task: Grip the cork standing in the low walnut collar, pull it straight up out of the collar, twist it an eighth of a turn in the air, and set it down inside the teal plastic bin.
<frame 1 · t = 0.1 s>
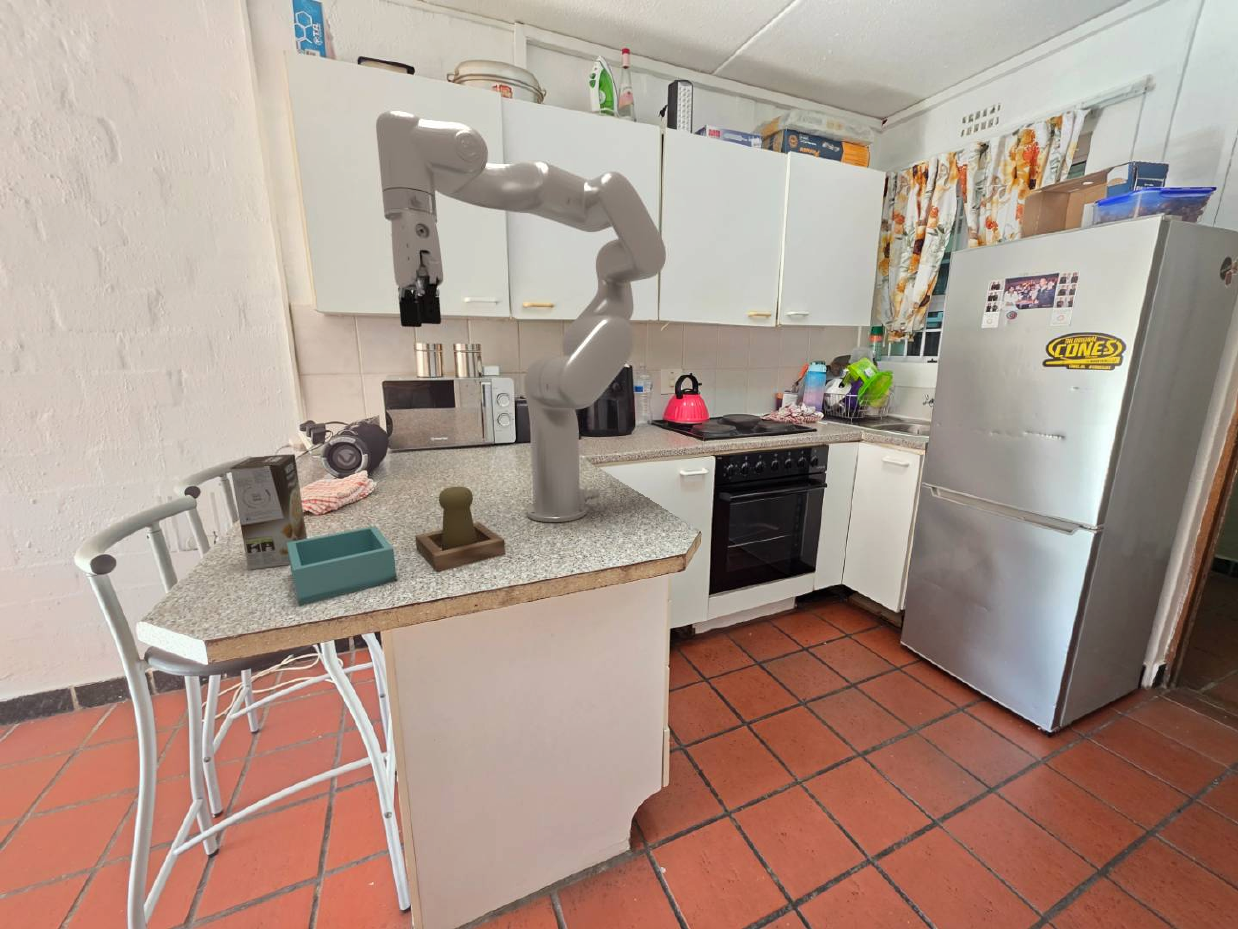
hand: (420, 325, 78), 37 cm above the countertop, tool pointing down, fingers open, 9 cm apart
teal bin: (343, 577, 71), on the countertop
walnut collar: (460, 551, 81), on the countertop
coffee box: (280, 557, 79), on the countertop
cork: (460, 553, 81), resting in walnut collar
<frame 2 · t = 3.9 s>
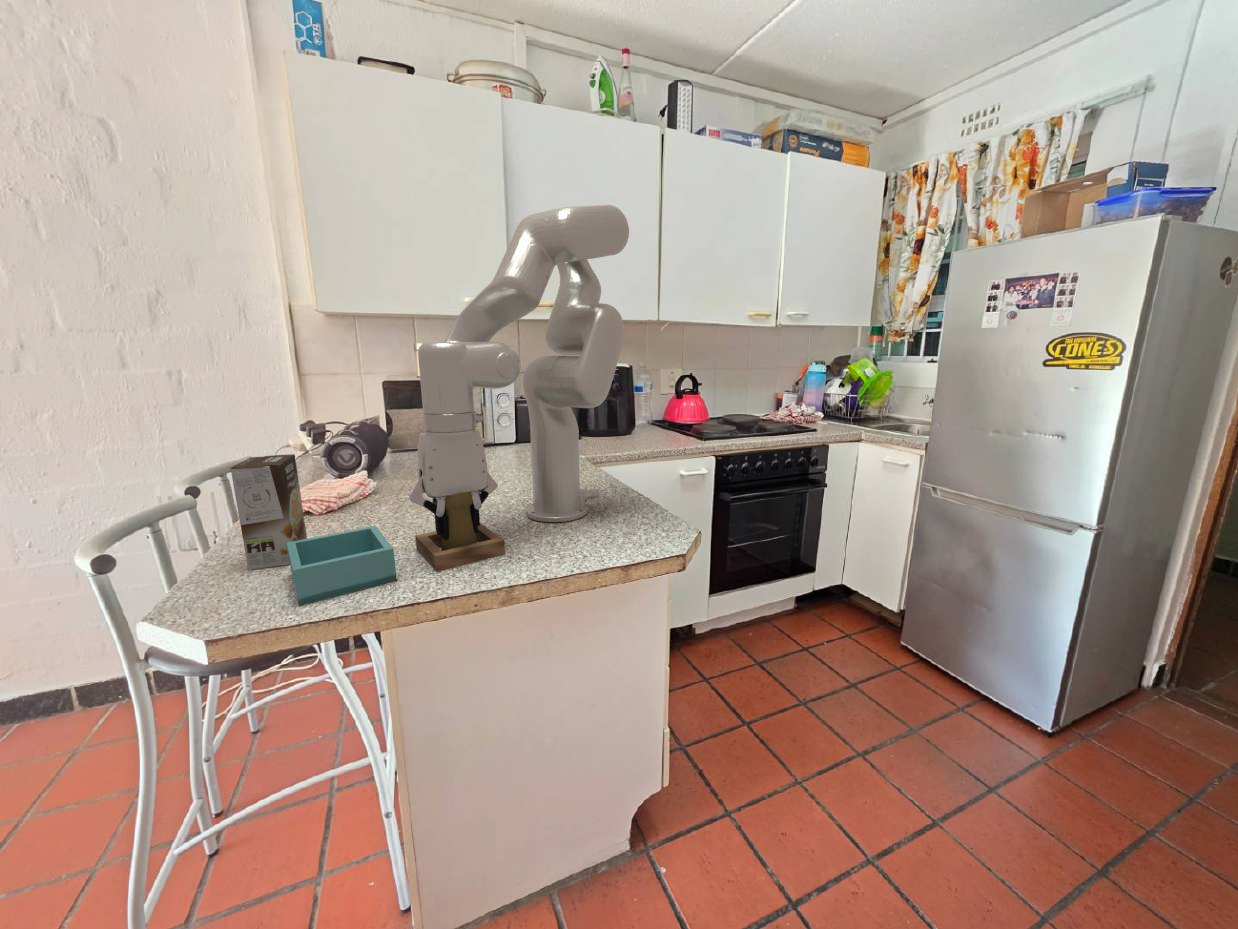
hand: (458, 533, 80), 3 cm above the countertop, tool pointing down, fingers closed on cork, 4 cm apart
cork: (460, 553, 81), resting in walnut collar, touching gripper
everything else where it was.
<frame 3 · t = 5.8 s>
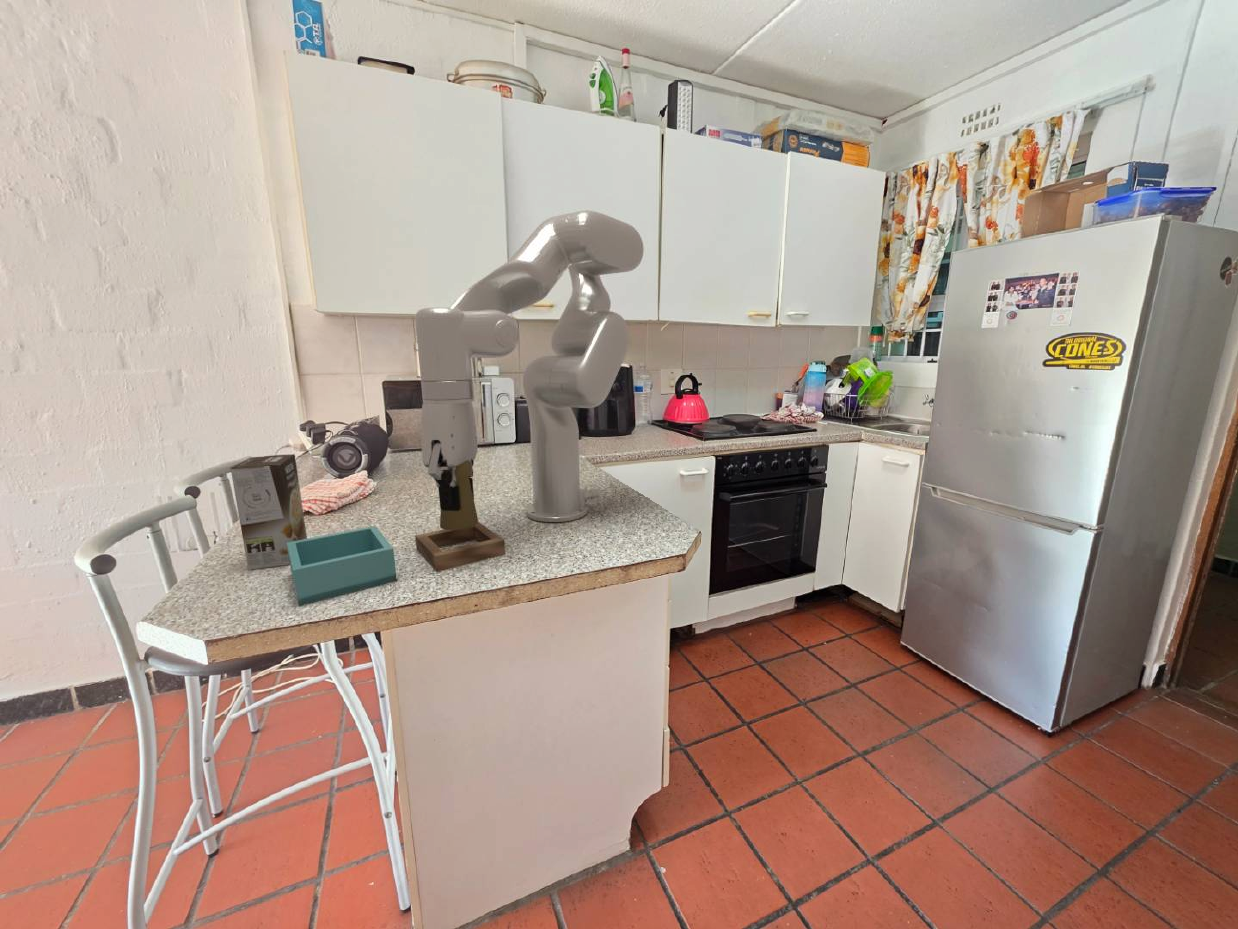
hand: (457, 504, 79), 8 cm above the countertop, tool pointing down, fingers closed on cork, 4 cm apart
cork: (459, 524, 80), point 5 cm above the countertop, touching gripper
everything else where it was.
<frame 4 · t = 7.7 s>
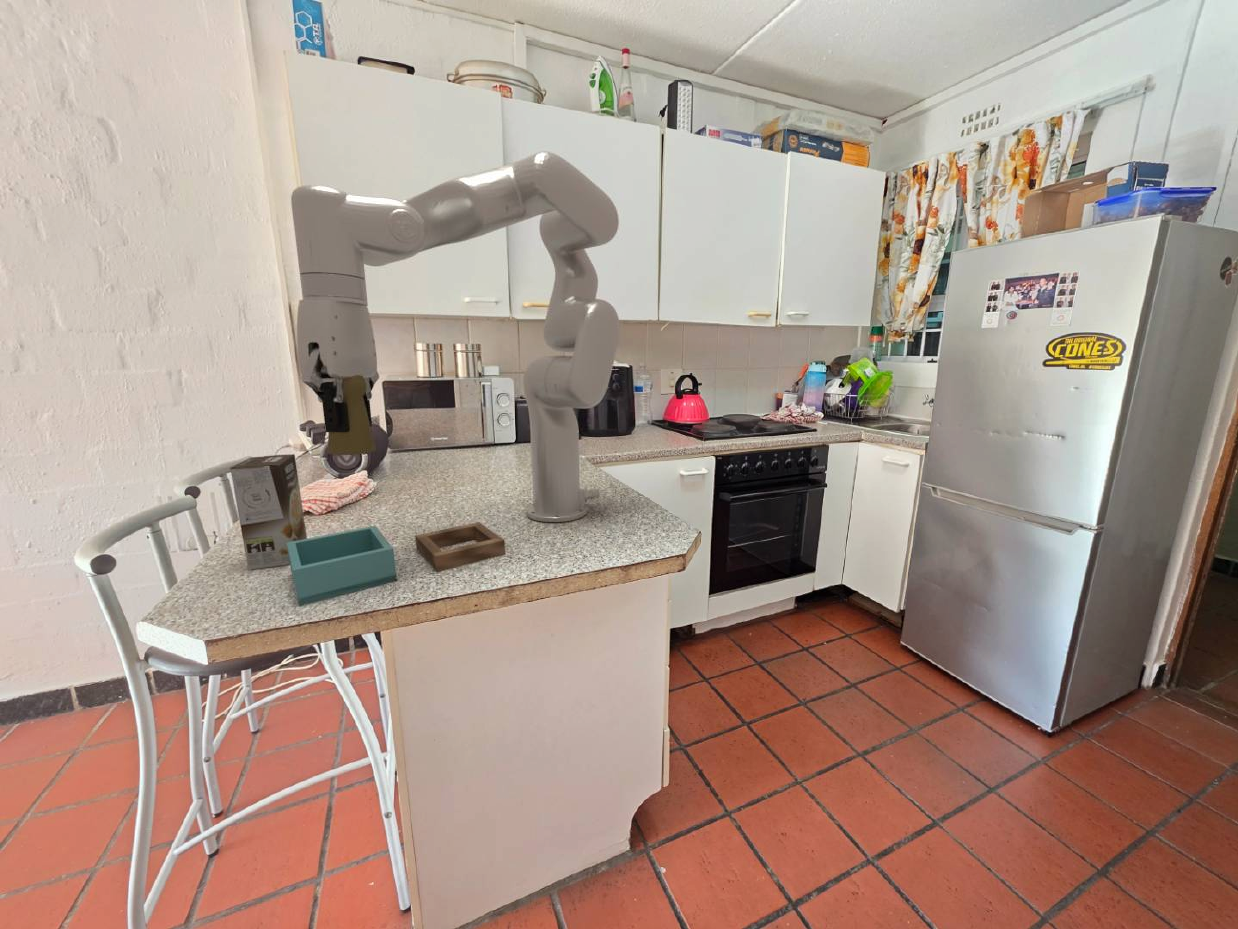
hand: (349, 428, 68), 22 cm above the countertop, tool pointing down, fingers closed on cork, 4 cm apart
cork: (352, 452, 69), point 18 cm above the countertop, touching gripper
everything else where it was.
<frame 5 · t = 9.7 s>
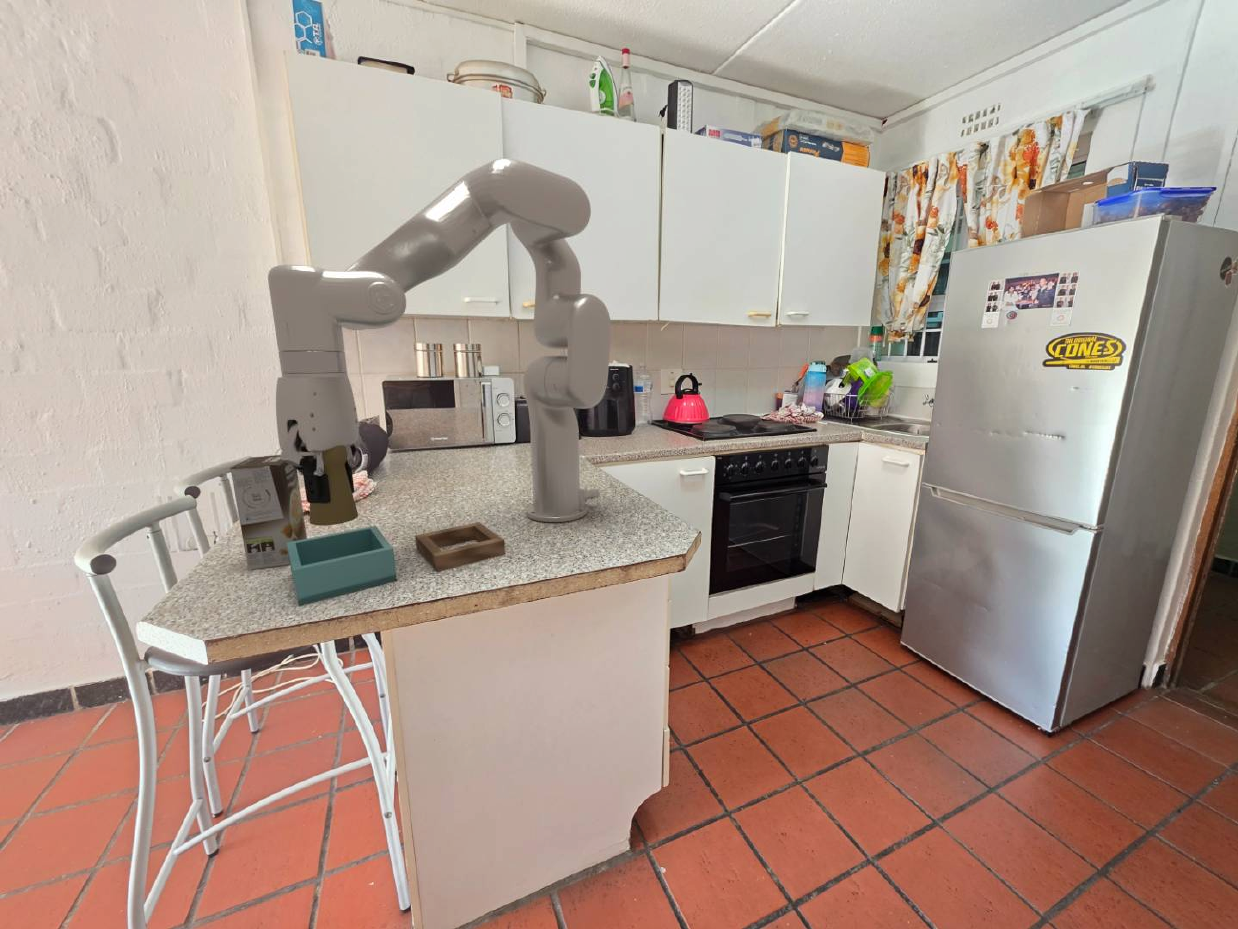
hand: (331, 496, 69), 12 cm above the countertop, tool pointing down, fingers closed on cork, 4 cm apart
cork: (334, 519, 69), point 9 cm above the countertop, touching gripper
everything else where it was.
when the fingers open (6 cm above the countertop, at t = 11.6 s): cork drops 2 cm, resting on teal bin.
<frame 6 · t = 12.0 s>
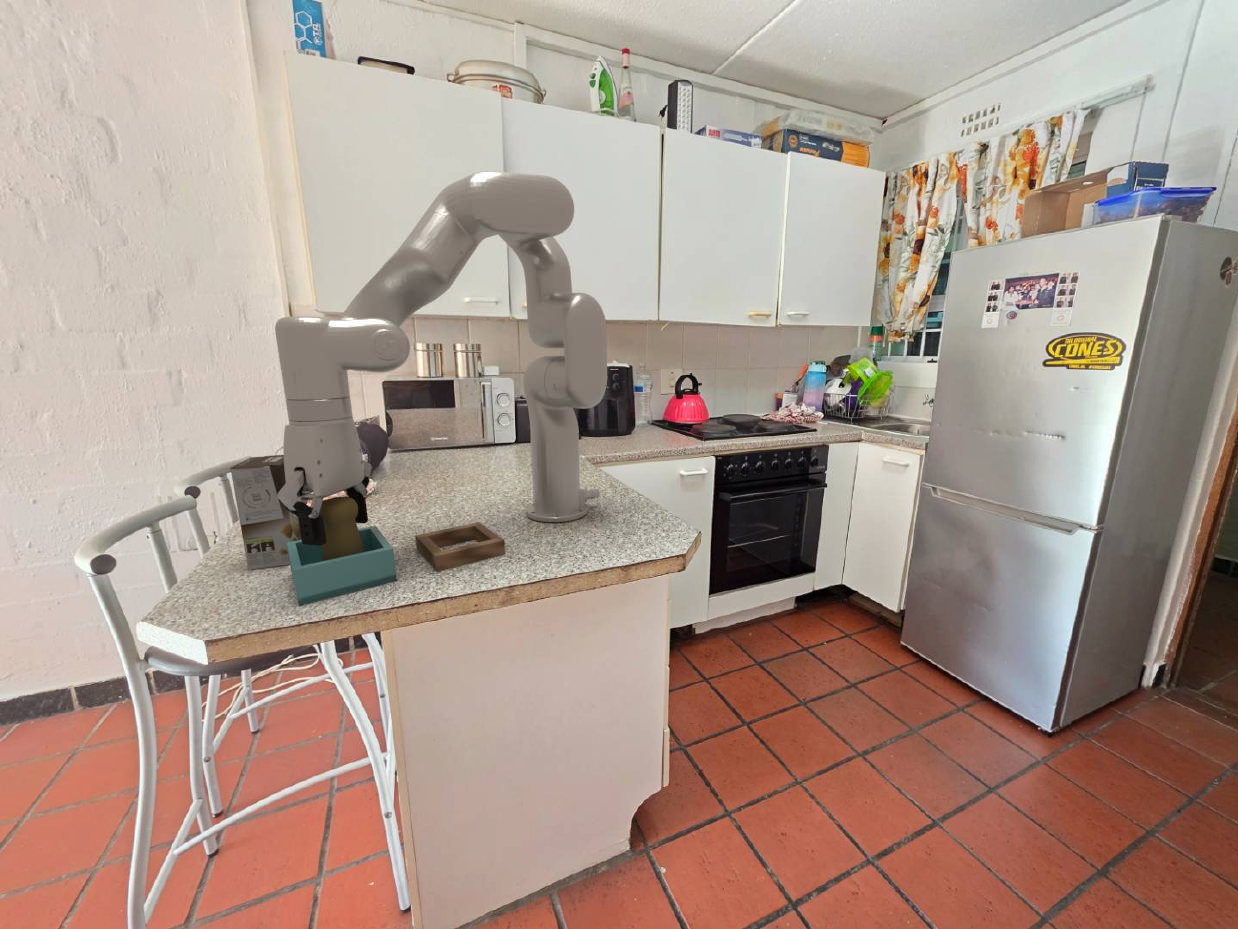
hand: (337, 532, 70), 7 cm above the countertop, tool pointing down, fingers open, 8 cm apart
cork: (346, 572, 71), point 1 cm above the countertop, touching teal bin
everything else where it was.
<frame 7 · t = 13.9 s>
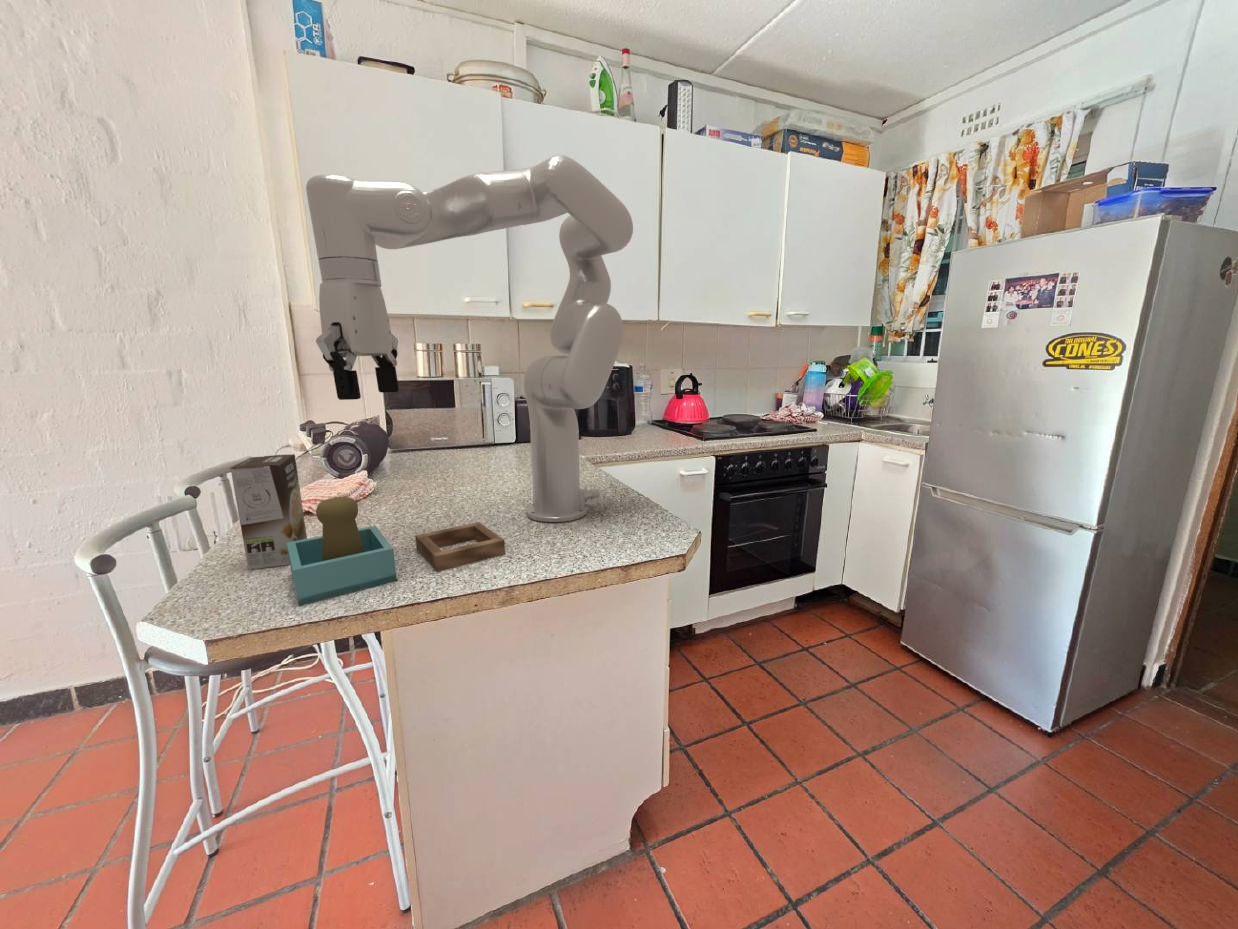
hand: (370, 395, 74), 26 cm above the countertop, tool pointing down, fingers open, 9 cm apart
nothing on the countertop moved.
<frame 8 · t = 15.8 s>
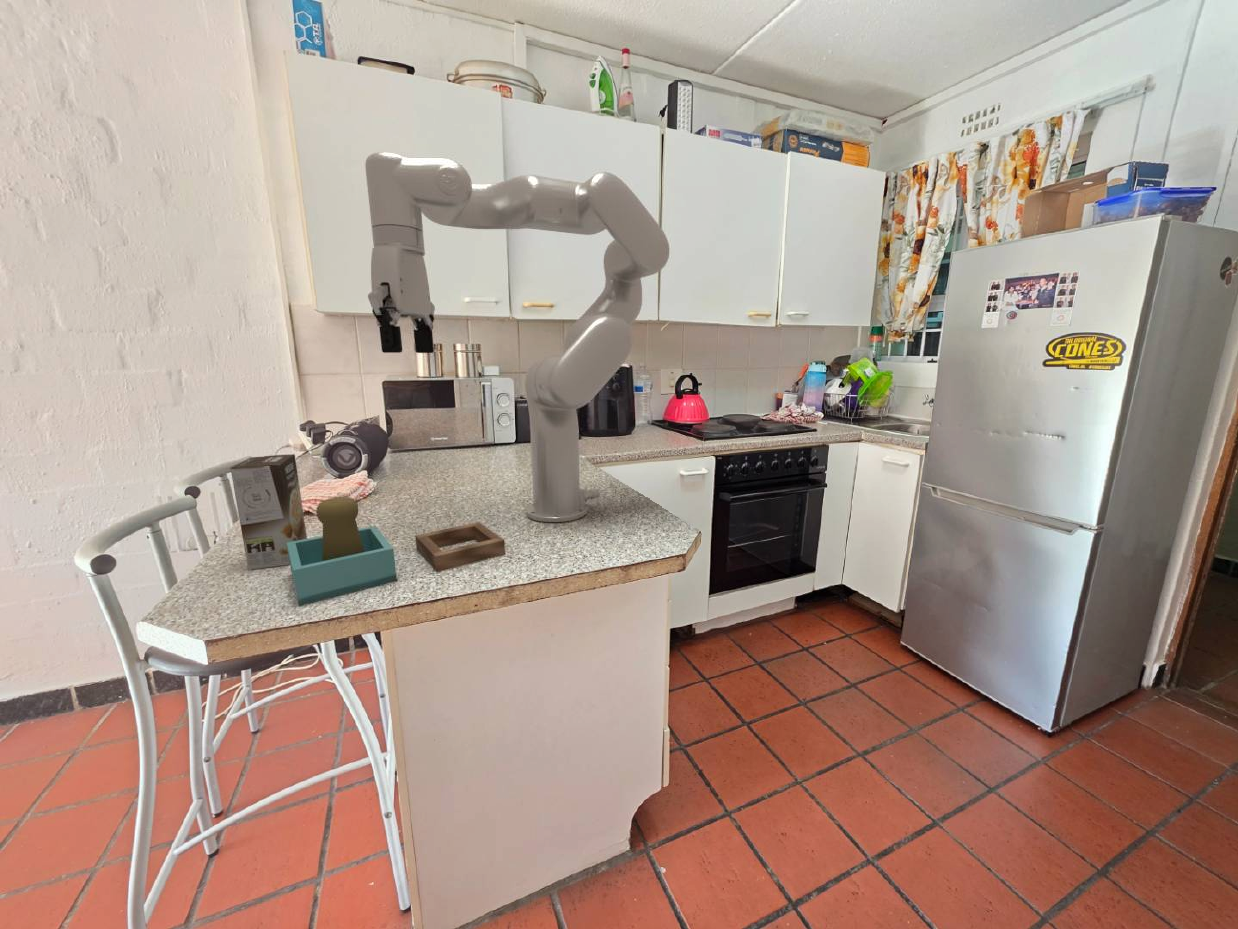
hand: (409, 352, 82), 32 cm above the countertop, tool pointing down, fingers open, 9 cm apart
nothing on the countertop moved.
at the end: cork inside the target area on the teal bin (0.4 cm from its centre), point 0.8 cm above the teal bin's base; cork tilted 0°; the gripper is holding nothing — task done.
